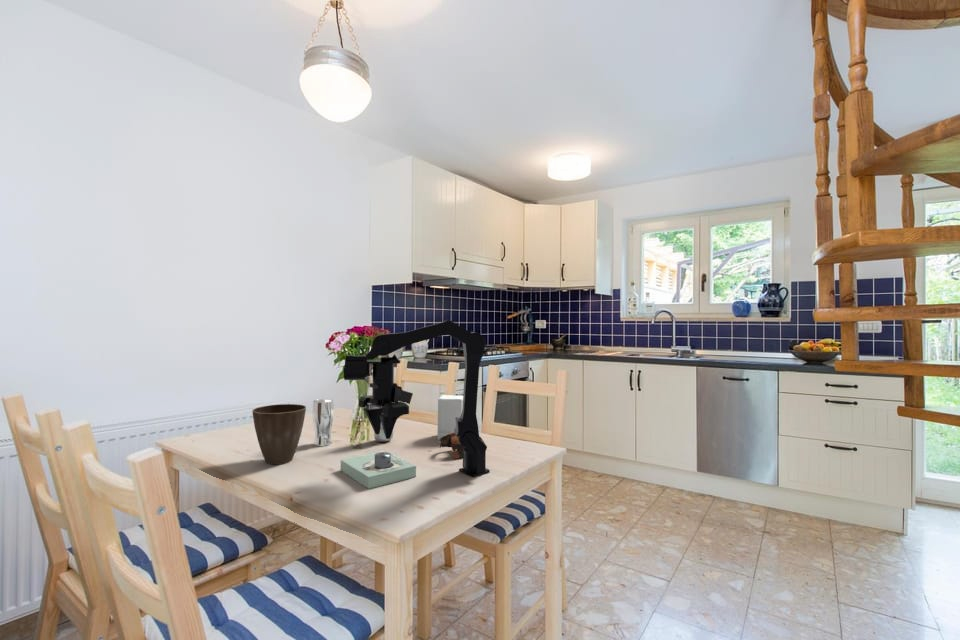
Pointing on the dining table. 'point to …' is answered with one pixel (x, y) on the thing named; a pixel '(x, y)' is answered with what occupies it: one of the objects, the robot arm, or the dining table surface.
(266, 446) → the plant pot
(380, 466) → the dark metal cylinder
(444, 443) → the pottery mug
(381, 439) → the plastic bottle
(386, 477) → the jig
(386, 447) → the dining table surface
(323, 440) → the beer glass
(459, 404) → the supplement box
